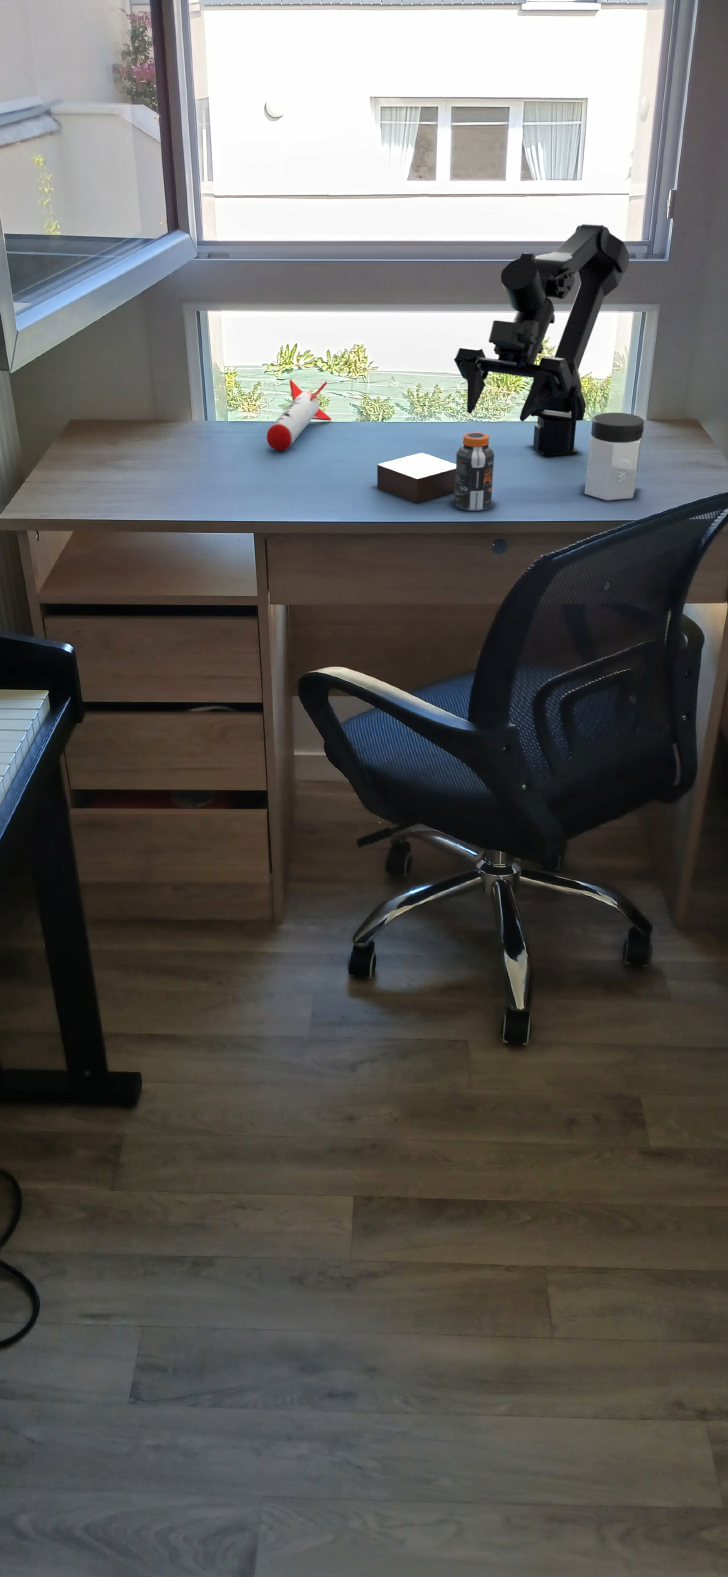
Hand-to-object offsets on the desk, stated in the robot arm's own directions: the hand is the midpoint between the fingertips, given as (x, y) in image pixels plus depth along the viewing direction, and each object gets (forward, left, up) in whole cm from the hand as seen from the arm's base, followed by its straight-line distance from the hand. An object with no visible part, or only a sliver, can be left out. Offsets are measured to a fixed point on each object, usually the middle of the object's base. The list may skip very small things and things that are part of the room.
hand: (494, 415), depth 184 cm
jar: (-19, +5, -13) cm, 24 cm away
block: (+11, -5, -13) cm, 17 cm away
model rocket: (+25, -41, -13) cm, 50 cm away
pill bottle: (+5, +5, -13) cm, 14 cm away
